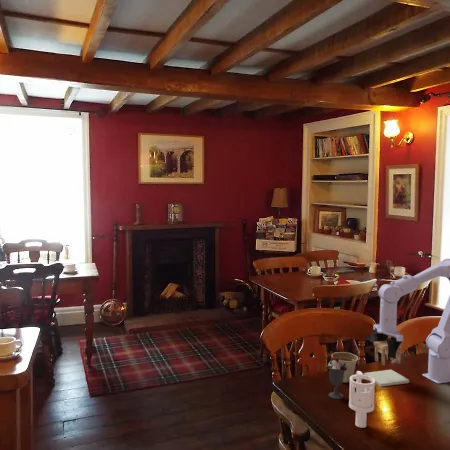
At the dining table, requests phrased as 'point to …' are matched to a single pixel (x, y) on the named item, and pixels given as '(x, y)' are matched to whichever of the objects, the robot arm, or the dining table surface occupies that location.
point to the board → (387, 378)
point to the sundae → (336, 375)
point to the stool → (385, 351)
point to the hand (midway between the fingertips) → (386, 354)
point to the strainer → (361, 397)
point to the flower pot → (347, 363)
